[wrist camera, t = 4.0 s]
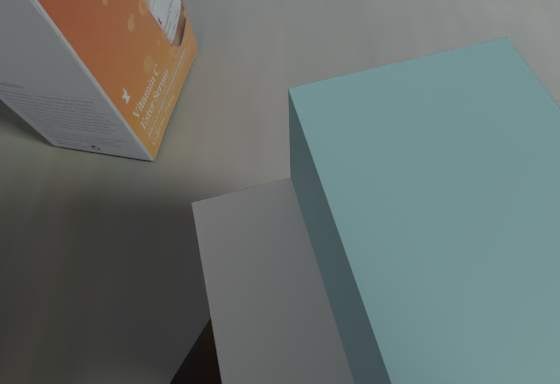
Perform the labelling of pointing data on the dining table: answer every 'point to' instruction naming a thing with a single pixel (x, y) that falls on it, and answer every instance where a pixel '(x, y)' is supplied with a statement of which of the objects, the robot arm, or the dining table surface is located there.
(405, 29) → the dining table surface
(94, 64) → the small box
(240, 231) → the carton
